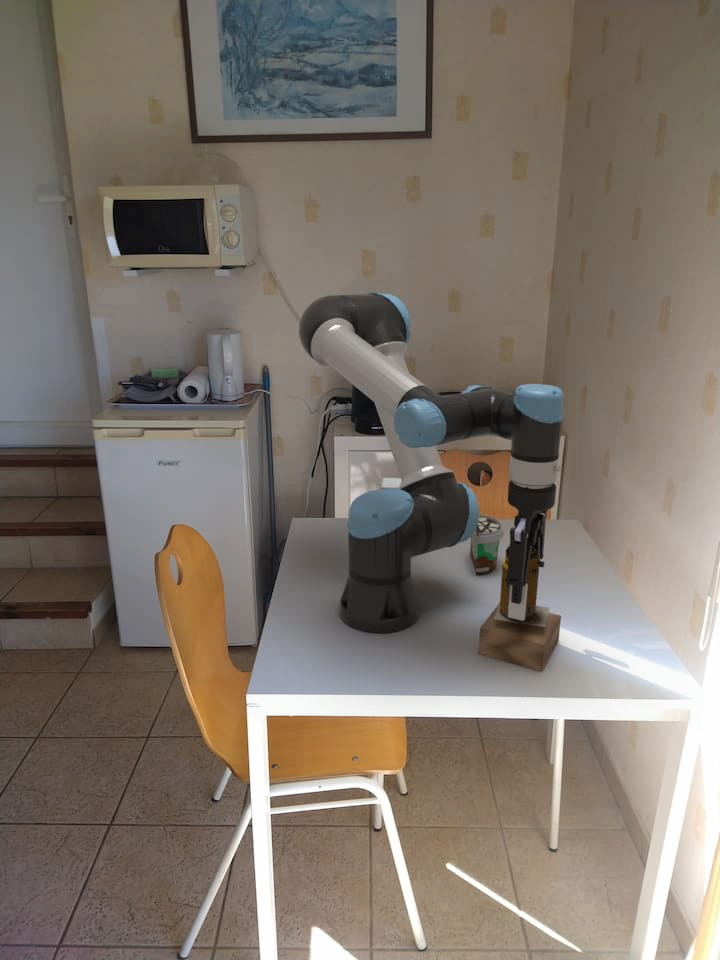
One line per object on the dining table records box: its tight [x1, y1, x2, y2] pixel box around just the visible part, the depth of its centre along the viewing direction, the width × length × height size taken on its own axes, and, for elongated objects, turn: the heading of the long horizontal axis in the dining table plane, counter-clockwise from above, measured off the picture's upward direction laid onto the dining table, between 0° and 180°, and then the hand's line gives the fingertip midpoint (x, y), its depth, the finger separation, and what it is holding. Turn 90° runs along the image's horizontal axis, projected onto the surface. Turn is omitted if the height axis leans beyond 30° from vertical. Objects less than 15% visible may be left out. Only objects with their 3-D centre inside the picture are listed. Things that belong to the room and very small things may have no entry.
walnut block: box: [478, 602, 562, 672], centre depth 124 cm, size 11×11×5 cm
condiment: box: [494, 545, 550, 627], centre depth 121 cm, size 7×8×12 cm
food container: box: [469, 513, 504, 576], centre depth 155 cm, size 12×6×10 cm, turn 179°
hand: (522, 609), depth 122 cm, fingers closed on condiment, 6 cm apart
